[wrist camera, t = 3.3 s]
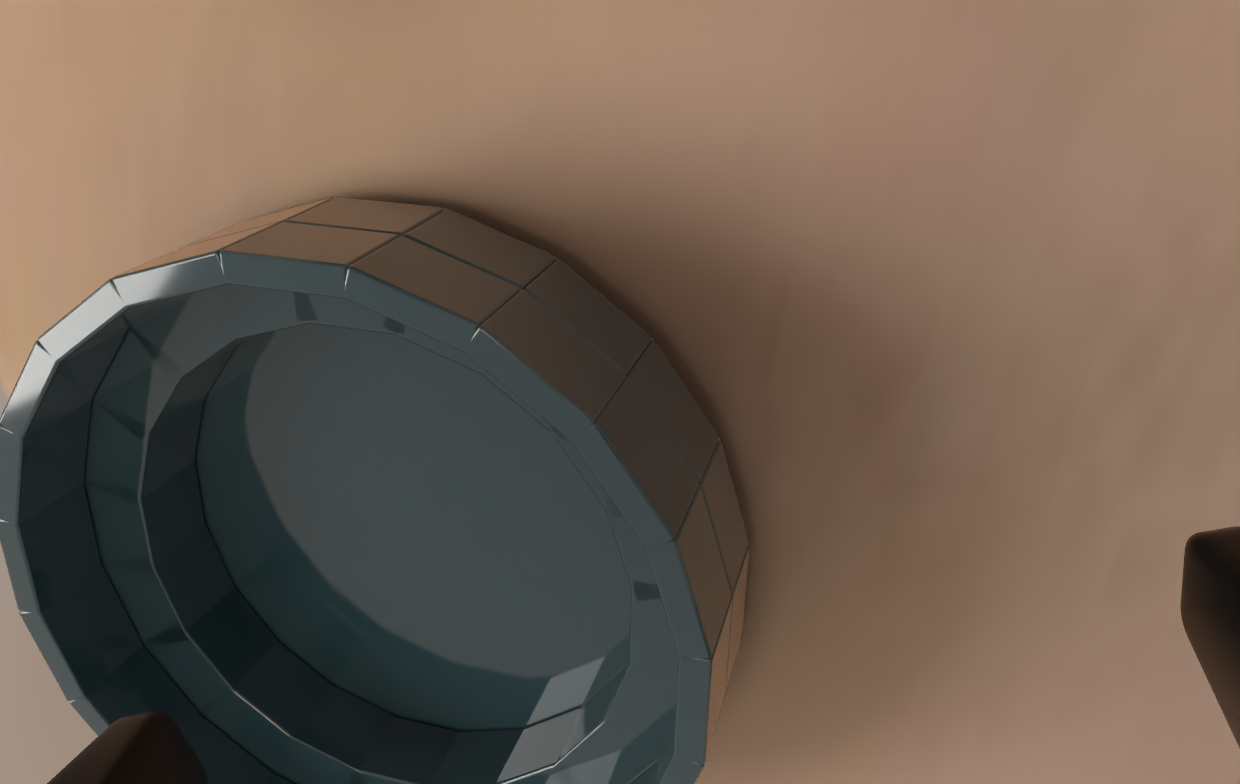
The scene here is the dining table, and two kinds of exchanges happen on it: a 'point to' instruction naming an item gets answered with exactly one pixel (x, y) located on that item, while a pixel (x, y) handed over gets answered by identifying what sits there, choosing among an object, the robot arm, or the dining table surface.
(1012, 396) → the dining table surface
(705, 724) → the bowl
